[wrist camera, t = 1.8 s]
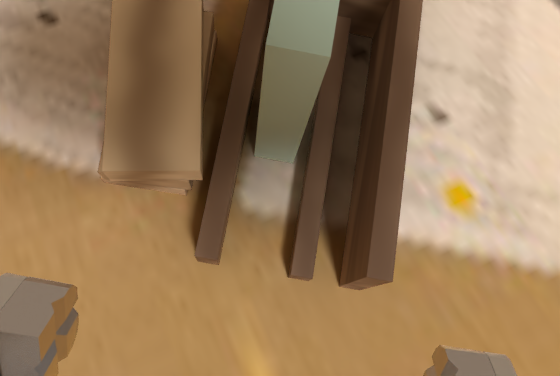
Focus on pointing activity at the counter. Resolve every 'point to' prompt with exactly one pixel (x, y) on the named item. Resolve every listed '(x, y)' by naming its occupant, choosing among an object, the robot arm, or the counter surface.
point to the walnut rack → (371, 148)
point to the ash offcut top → (154, 91)
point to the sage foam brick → (293, 73)
